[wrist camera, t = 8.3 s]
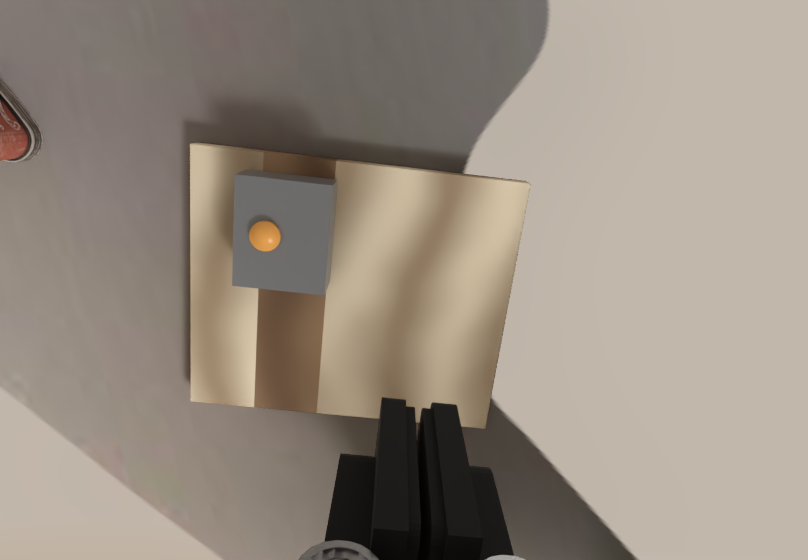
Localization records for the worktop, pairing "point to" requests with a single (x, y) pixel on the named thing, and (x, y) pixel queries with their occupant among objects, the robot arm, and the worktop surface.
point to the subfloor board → (358, 291)
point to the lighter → (17, 130)
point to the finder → (283, 231)
